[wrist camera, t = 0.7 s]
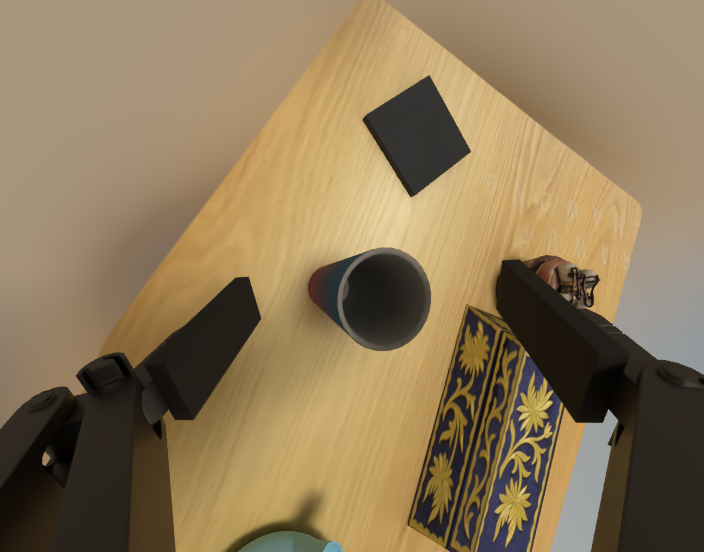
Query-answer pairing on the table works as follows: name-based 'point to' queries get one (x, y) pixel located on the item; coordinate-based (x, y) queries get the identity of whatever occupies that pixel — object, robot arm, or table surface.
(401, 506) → the table surface
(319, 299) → the cup
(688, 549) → the robot arm
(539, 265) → the cupcake
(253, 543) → the teapot
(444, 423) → the decorative box
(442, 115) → the mat
